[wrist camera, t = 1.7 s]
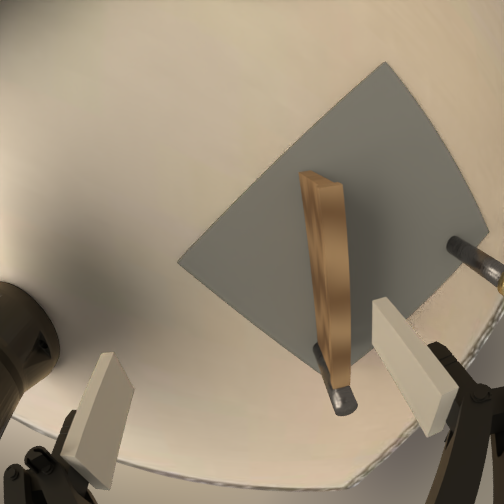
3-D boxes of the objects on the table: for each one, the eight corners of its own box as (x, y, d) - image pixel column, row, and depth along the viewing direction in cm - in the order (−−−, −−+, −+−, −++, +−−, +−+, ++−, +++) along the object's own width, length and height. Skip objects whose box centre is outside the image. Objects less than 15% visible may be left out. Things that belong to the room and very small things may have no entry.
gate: (329, 339, 37) (350, 385, 29) (315, 343, 37) (333, 389, 29) (313, 169, 29) (342, 184, 22) (295, 172, 29) (318, 188, 22)
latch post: (447, 258, 36) (506, 303, 24) (438, 243, 35) (500, 286, 23) (461, 242, 35) (523, 282, 24) (453, 226, 34) (518, 265, 23)
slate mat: (329, 378, 41) (330, 381, 40) (177, 260, 33) (177, 262, 32) (486, 230, 35) (489, 231, 34) (383, 62, 27) (385, 61, 26)
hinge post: (319, 354, 39) (343, 418, 29) (307, 345, 38) (330, 411, 28) (333, 343, 39) (361, 405, 28) (322, 333, 38) (349, 397, 28)
